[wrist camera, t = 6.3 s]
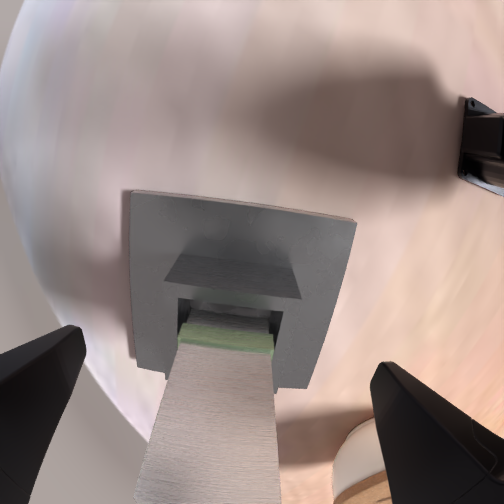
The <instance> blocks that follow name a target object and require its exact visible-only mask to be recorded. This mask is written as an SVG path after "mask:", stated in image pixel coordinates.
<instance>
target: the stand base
mask: <svg viewBox="0 0 504 504" xmlns="http://www.w3.org/2000/svg"><path fill="white" fill-rule="evenodd" d="M356 226H357V222H355V221H354V220H353V219H349V218H343V217H337V216H332V215H326V214H320V213H314V212H308V211H302V210H295V209H289V208H283V207H276V206H269V205H262V204H255V203H248V202H241V201H233V200H225V199H217V198H209V197H201V196H192V195H183V194H173V193H164V192H153V191H143V190H135V191H133V192H131V195H130V225H129V261H130V290H131V308H132V321H133V333H134V343H135V352H136V360H137V367H139V368H144V369H148V370H153V371H158V372H163V373H165V380H168V378H169V375H170V372H171V369H172V366H173V362H174V359H175V356H176V353H177V350H178V335H179V332H180V329H181V326H182V324H183V323H187V321H188V318H189V315H190V312H191V309H197V310H204V311H211V312H218V313H226V314H233V315H241V316H249V317H258V318H267V319H268V329H269V334H273V342H274V353H273V357H272V361H271V366H272V379H273V392H274V394H276V393H277V390H278V387H279V388H298V389H307V387H308V384H309V382H310V379H311V376H312V374H313V371H314V368H315V365H316V363H317V360H318V357H319V354H320V351H321V348H322V346H323V343H324V340H325V337H326V334H327V331H328V327H329V324H330V321H331V318H332V315H333V312H334V308H335V305H336V302H337V298H338V295H339V292H340V288H341V285H342V281H343V278H344V274H345V270H346V267H347V263H348V259H349V255H350V251H351V247H352V243H353V239H354V235H355V231H356Z"/></svg>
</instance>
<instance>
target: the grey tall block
mask: <svg viewBox="0 0 504 504" xmlns="http://www.w3.org/2000/svg"><path fill="white" fill-rule="evenodd" d="M273 353H274V342H273V334H269V329H268V319H267V318H258V317H249V316H241V315H233V314H226V313H218V312H211V311H204V310H197V309H191V312H190V315H189V318H188V321H187V323H183V324H182V326H181V329H180V332H179V335H178V350H177V353H176V356H175V359H174V362H173V366H172V369H171V372H170V375H169V378H168V381H167V384H166V387H165V390H164V394H163V397H162V400H161V403H160V407H159V410H158V413H157V416H156V420H155V423H154V426H153V430H152V433H151V436H150V440H149V443H148V447H147V450H146V454H145V457H144V461H143V465H142V468H141V472H140V475H139V479H138V483H137V486H136V490H135V494H134V500H135V501H136V503H137V504H282V503H281V488H280V473H279V459H278V445H277V431H276V418H275V405H274V392H273V379H272V366H271V361H272V357H273Z"/></svg>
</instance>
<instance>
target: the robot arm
mask: <svg viewBox="0 0 504 504" xmlns="http://www.w3.org/2000/svg"><path fill="white" fill-rule="evenodd" d="M471 103H472V106H471ZM463 171H464V175H463ZM458 176H459V177H460V178H461V179H464V180H466V181H468V182H471V183H473V184H476V185H478V186H480V187H483V188H485V189H487V190H489V191H492V192H494V193H496V194H498V195H500V196H503V197H504V113H496V112H495V111H493V110H492V109H490V108H489V107H487V106H486V105H484V104H482V103H481V102H479V101H477V100H476V99H474V98H472V97H471V98H467V99H466V101H465V115H464V127H463V136H462V145H461V152H460V159H459V165H458ZM85 356H86V345H85V341H84V336H83V332H82V329H81V328H80V327H77V326H74V325H67V326H65V327H62V328H60V329H58V330H55V331H53V332H51V333H48V334H46V335H44V336H41V337H39V338H37V339H35V340H32V341H30V342H28V343H25V344H23V345H21V346H18V347H16V348H14V349H12V350H9V351H7V352H5V353H3V354H0V504H28V503H29V500H30V495H31V493H32V490H33V487H34V484H35V481H36V478H37V475H38V473H39V470H40V467H41V465H42V462H43V459H44V457H45V454H46V451H47V449H48V447H49V444H50V442H51V439H52V437H53V434H54V432H55V430H56V428H57V425H58V423H59V420H60V418H61V416H62V414H63V412H64V409H65V407H66V405H67V403H68V401H69V399H70V397H71V394H72V392H73V389H74V386H75V384H76V380H77V378H78V375H79V372H80V370H81V367H82V364H83V362H84V359H85ZM370 391H371V397H372V404H373V411H374V418H375V425H376V430H377V435H378V439H379V443H380V447H381V452H382V456H383V460H384V465H385V469H386V474H387V479H388V484H389V489H390V494H391V499H392V504H504V439H503V438H501V437H499V436H498V435H496V434H494V433H493V432H491V431H490V430H488V429H487V428H485V427H484V426H482V425H481V424H479V423H478V422H477V421H475V420H474V419H472V418H471V417H469V416H468V415H467V414H465V413H464V412H462V411H461V410H460V409H458V408H457V407H455V406H454V405H453V404H451V403H450V402H448V401H447V400H446V399H444V398H443V397H442V396H440V395H439V394H437V393H436V392H435V391H433V390H432V389H430V388H429V387H428V386H426V385H425V384H423V383H422V382H421V381H419V380H418V379H416V378H415V377H414V376H412V375H411V374H410V373H408V372H407V371H405V370H404V369H403V368H401V367H400V366H398V365H397V364H396V363H394V362H391V361H389V362H381V363H380V364H379V365H378V367H377V369H376V371H375V374H374V376H373V378H372V380H371V383H370Z"/></svg>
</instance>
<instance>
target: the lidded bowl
mask: <svg viewBox="0 0 504 504" xmlns="http://www.w3.org/2000/svg"><path fill="white" fill-rule="evenodd" d="M331 478H332V492H333V498H334V503H333V504H392V499H391V494H390V489H389V484H388V479H387V474H386V469H385V465H384V460H383V456H382V452H381V447H380V443H379V439H378V435H377V430H376V425H375V418H371V419H369V420H367V421H365V422H363V423H361V424H360V425H358V426H357V427H355V428H354V429H353V430H352V431H351V432H350V433H349V434H348V436H347V438H346V441H345V442H344V443H343V445H342V446H341V447H340V449H339V450H338V453H337V455H336V457H335V459H334V463H333V467H332V477H331Z"/></svg>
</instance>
